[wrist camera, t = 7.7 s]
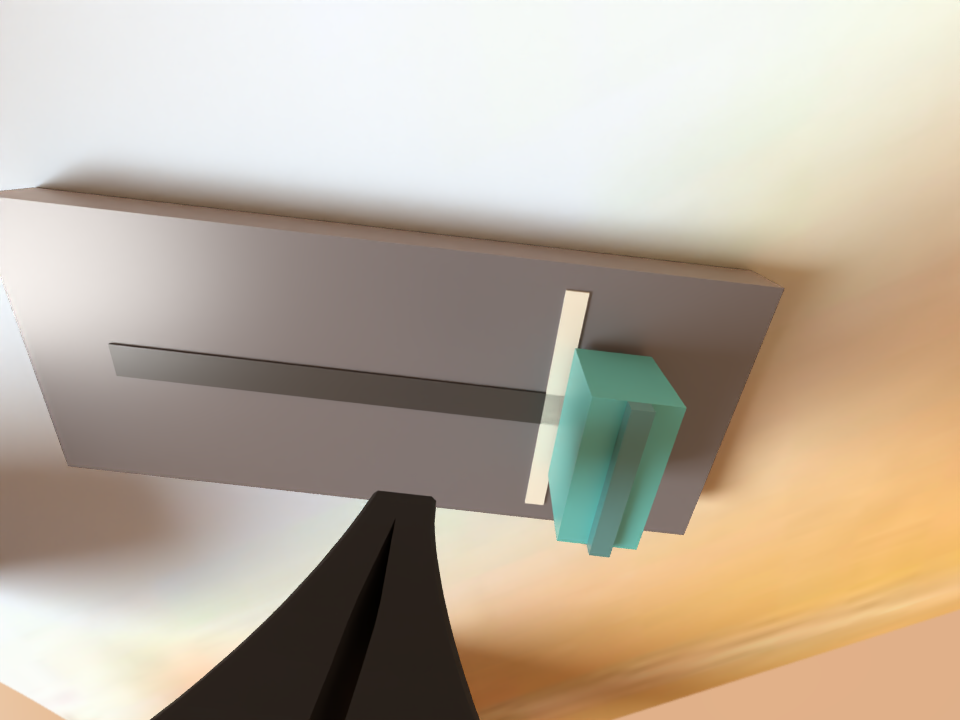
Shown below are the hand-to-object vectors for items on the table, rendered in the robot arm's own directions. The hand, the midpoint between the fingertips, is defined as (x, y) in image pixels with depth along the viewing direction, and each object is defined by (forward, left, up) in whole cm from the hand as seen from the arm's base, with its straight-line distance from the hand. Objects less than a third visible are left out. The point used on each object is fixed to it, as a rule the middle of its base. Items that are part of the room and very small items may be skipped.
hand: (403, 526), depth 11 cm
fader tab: (0, -5, -5) cm, 8 cm away
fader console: (0, +2, -8) cm, 8 cm away
